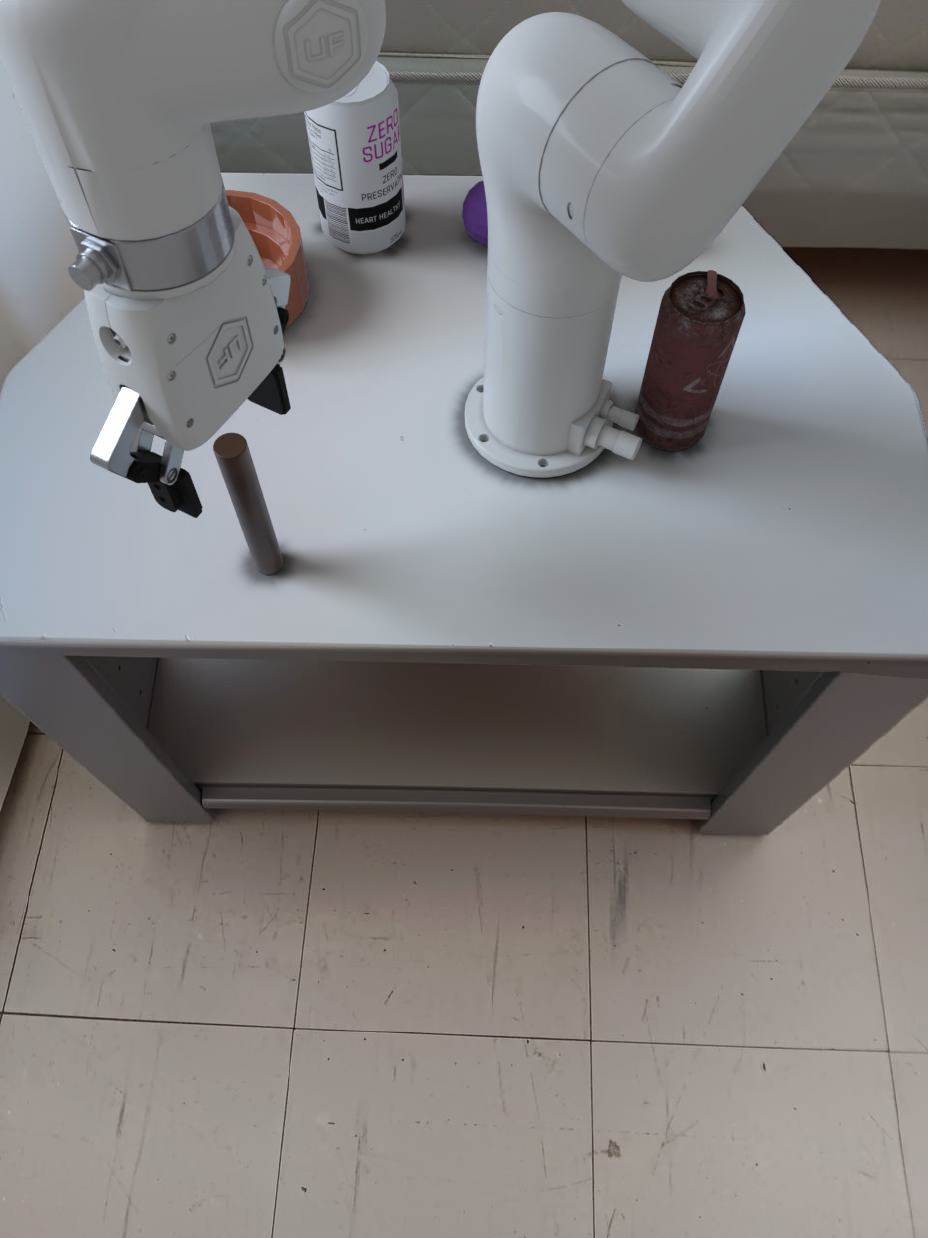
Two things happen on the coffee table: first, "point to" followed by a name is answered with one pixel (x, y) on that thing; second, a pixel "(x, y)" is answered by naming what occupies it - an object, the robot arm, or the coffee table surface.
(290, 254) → the bowl
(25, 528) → the coffee table surface
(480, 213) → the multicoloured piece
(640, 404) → the can
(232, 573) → the coffee table surface
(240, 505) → the stick
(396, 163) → the supplement can
